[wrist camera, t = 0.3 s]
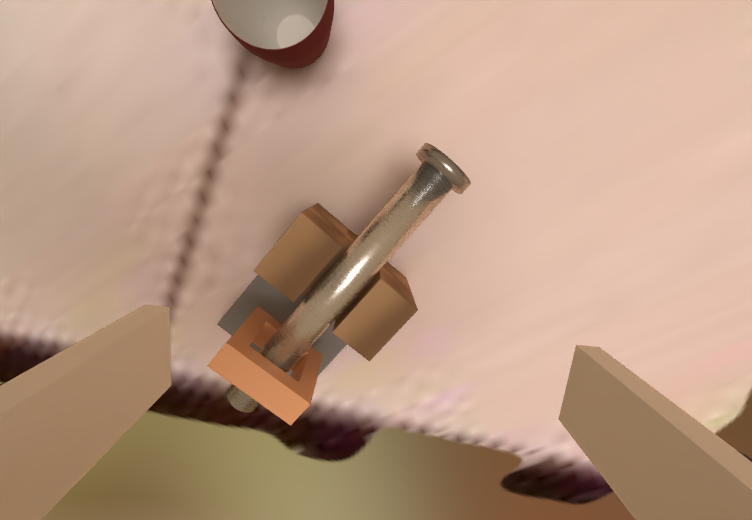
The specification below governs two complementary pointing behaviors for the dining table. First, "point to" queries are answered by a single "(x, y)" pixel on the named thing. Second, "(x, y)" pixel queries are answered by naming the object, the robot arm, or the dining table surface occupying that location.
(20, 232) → the dining table surface
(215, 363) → the frame
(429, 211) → the shaft
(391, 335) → the cradle block
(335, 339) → the mat
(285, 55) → the mug
